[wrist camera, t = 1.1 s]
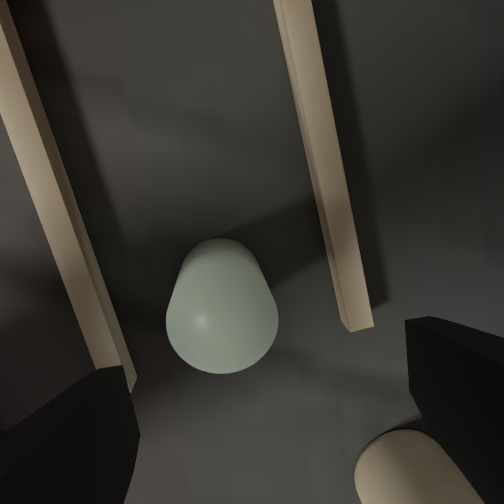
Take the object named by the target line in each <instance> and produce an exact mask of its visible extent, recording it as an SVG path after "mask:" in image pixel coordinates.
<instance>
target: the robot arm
mask: <svg viewBox="0 0 504 504" xmlns="http://www.w3.org/2000/svg"><path fill="white" fill-rule="evenodd" d="M405 331H406V346H407V361H408V376H409V392H410V393H411V395H412V397H413V399H414V401H415V403H416V405H417V407H418V409H419V411H420V412H421V414H422V416H423V418H424V420H425V421H426V423H427V425H428V427H429V428H430V429H431V431H432V432H433V434H434V435H435V436H436V438H437V439H438V441H439V442H440V443H441V445H442V446H443V448H444V449H445V450H446V452H447V453H448V454H449V456H450V457H451V458H452V460H453V461H454V463H455V464H456V465H457V467H458V468H459V469H460V471H461V472H462V473H463V475H464V476H465V478H466V479H467V480H468V482H469V483H470V484H471V486H472V487H473V488H474V490H475V491H476V492H477V494H478V495H479V497H480V498H481V499H482V501H483V502H484V503H485V504H504V338H502V337H499V336H496V335H493V334H489V333H486V332H483V331H480V330H477V329H474V328H471V327H467V326H464V325H461V324H458V323H455V322H451V321H448V320H444V319H440V318H436V317H430V316H427V317H421V318H414V319H408V320H405ZM139 439H140V431H139V427H138V423H137V419H136V415H135V411H134V407H133V403H132V399H131V395H130V391H129V387H128V383H127V379H126V375H125V371H124V367H123V365H118V366H111V367H105V368H99V369H97V370H95V371H93V372H91V373H90V374H88V375H87V376H85V377H83V378H82V379H81V380H79V381H78V382H76V383H75V384H73V385H72V386H70V387H69V388H68V389H66V390H65V391H63V392H62V393H61V394H59V395H58V396H56V397H55V398H54V399H52V400H51V401H49V402H48V403H47V404H45V405H44V406H42V407H41V408H40V409H38V410H37V411H35V412H34V413H33V414H31V415H30V416H28V417H27V418H25V419H24V420H22V421H21V422H19V423H18V424H16V425H15V426H13V427H12V428H10V429H9V430H7V431H6V432H4V433H3V434H1V435H0V504H124V500H125V497H126V494H127V491H128V488H129V485H130V482H131V479H132V475H133V472H134V467H135V462H136V457H137V451H138V445H139Z"/></svg>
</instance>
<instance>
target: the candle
mask: <svg viewBox="0 0 504 504" xmlns="http://www.w3.org/2000/svg"><path fill="white" fill-rule="evenodd" d="M354 480H355V485H356V489H357V492H358V495H359V497H360V499H361V502H362V504H485V503H484V502H483V501H482V499H481V498H480V497H479V495H478V494H477V492H476V491H475V490H474V488H473V487H472V486H471V484H470V483H469V482H468V480H467V479H466V478H465V476H464V475H463V473H462V472H461V471H460V470H459V468H458V467H457V466H456V465H455V463H454V462H453V461H452V460H451V458H450V457H449V456H448V455H447V454H446V452H445V451H444V450H443V449H442V448H441V446H440V445H439V444H438V443H437V442H436V441H435V440H433V439H432V438H431V437H430V436H428V435H426V434H424V433H422V432H419V431H416V430H409V429H403V430H395V431H391V432H388V433H386V434H383V435H381V436H380V437H378V438H376V439H375V440H373V441H372V442H371V443H370V444H369V445H368V446H367V447H366V448H365V449H364V450H363V452H362V453H361V455H360V456H359V458H358V460H357V463H356V466H355V472H354Z"/></svg>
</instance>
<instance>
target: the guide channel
mask: <svg viewBox="0 0 504 504" xmlns="http://www.w3.org/2000/svg"><path fill="white" fill-rule="evenodd" d="M273 2H274V7H275V11H276V16H277V21H278V26H279V30H280V35H281V40H282V44H283V49H284V54H285V59H286V63H287V68H288V73H289V77H290V82H291V87H292V92H293V96H294V101H295V106H296V110H297V115H298V120H299V124H300V129H301V134H302V139H303V143H304V148H305V153H306V157H307V162H308V167H309V172H310V176H311V181H312V186H313V190H314V195H315V200H316V205H317V209H318V214H319V219H320V223H321V228H322V233H323V238H324V242H325V247H326V252H327V256H328V261H329V266H330V270H331V275H332V280H333V285H334V289H335V294H336V299H337V303H338V308H339V313H340V318H341V321H342V323H343V324H344V325H345V326H346V328H347V329H348V330H349V331H350V333H351V332H355V331H358V330H362V329H366V328H369V327H373V326H374V324H373V319H372V314H371V308H370V303H369V298H368V293H367V288H366V282H365V277H364V272H363V267H362V262H361V257H360V251H359V246H358V241H357V236H356V231H355V225H354V220H353V215H352V210H351V205H350V200H349V194H348V189H347V184H346V179H345V174H344V168H343V163H342V158H341V153H340V148H339V143H338V137H337V132H336V127H335V122H334V117H333V111H332V106H331V101H330V96H329V91H328V86H327V80H326V75H325V70H324V65H323V60H322V54H321V49H320V44H319V39H318V34H317V29H316V23H315V18H314V13H313V8H312V3H311V0H273ZM0 113H1V116H2V119H3V121H4V124H5V127H6V129H7V132H8V135H9V137H10V140H11V143H12V145H13V148H14V151H15V154H16V156H17V159H18V162H19V164H20V167H21V170H22V172H23V175H24V178H25V180H26V183H27V186H28V188H29V191H30V194H31V196H32V199H33V202H34V204H35V207H36V210H37V213H38V215H39V218H40V221H41V223H42V226H43V229H44V231H45V234H46V237H47V239H48V242H49V245H50V247H51V250H52V253H53V255H54V258H55V261H56V263H57V266H58V269H59V272H60V274H61V277H62V280H63V282H64V285H65V288H66V290H67V293H68V296H69V298H70V301H71V304H72V306H73V309H74V312H75V314H76V317H77V320H78V322H79V325H80V328H81V331H82V333H83V336H84V339H85V341H86V344H87V347H88V349H89V352H90V355H91V357H92V360H93V363H94V365H95V368H96V370H97V369H99V368H105V367H111V366H118V365H123V367H124V371H125V375H126V379H127V383H128V387H129V391H130V393H132V390H133V387H134V385H135V382H136V379H137V374H136V372H135V369H134V366H133V363H132V360H131V357H130V354H129V351H128V349H127V346H126V343H125V340H124V337H123V334H122V331H121V329H120V326H119V323H118V320H117V317H116V314H115V311H114V308H113V306H112V303H111V300H110V297H109V294H108V291H107V288H106V285H105V283H104V280H103V277H102V274H101V271H100V268H99V265H98V263H97V260H96V257H95V254H94V251H93V248H92V245H91V242H90V240H89V237H88V234H87V231H86V228H85V225H84V222H83V219H82V217H81V214H80V211H79V208H78V205H77V202H76V199H75V197H74V194H73V191H72V188H71V185H70V182H69V179H68V176H67V174H66V171H65V168H64V165H63V162H62V159H61V156H60V153H59V151H58V148H57V145H56V142H55V139H54V136H53V133H52V131H51V128H50V125H49V122H48V119H47V116H46V113H45V110H44V108H43V105H42V102H41V99H40V96H39V93H38V90H37V87H36V85H35V82H34V79H33V76H32V73H31V70H30V67H29V65H28V62H27V59H26V56H25V53H24V50H23V47H22V44H21V42H20V39H19V36H18V33H17V30H16V27H15V24H14V21H13V19H12V16H11V13H10V10H9V7H8V4H7V1H6V0H0Z"/></svg>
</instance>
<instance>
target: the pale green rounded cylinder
mask: <svg viewBox="0 0 504 504" xmlns="http://www.w3.org/2000/svg"><path fill="white" fill-rule="evenodd" d="M166 329H167V334H168V338H169V340H170V343H171V345H172V346H173V348H174V350H175V351H176V352H177V354H178V355H179V356H180V357H181V358H182V359H183V360H184V361H185V362H187V363H188V364H189V365H191V366H193V367H195V368H197V369H199V370H202V371H205V372H209V373H216V374H225V373H233V372H237V371H240V370H243V369H245V368H247V367H249V366H251V365H253V364H254V363H256V362H257V361H258V360H259V359H261V358H262V357H263V356H264V355H265V354H266V352H267V351H268V350H269V348H270V347H271V345H272V343H273V341H274V339H275V336H276V333H277V329H278V311H277V307H276V303H275V301H274V298H273V296H272V294H271V292H270V289H269V287H268V285H267V283H266V280H265V278H264V276H263V274H262V271H261V269H260V267H259V265H258V263H257V260H256V258H255V257H254V255H253V254H252V252H251V251H250V250H249V249H248V248H247V247H245V246H244V245H243V244H241V243H239V242H237V241H235V240H232V239H227V238H213V239H209V240H206V241H203V242H201V243H199V244H198V245H196V246H195V247H194V248H193V249H191V251H190V252H189V253H188V254H187V256H186V257H185V259H184V261H183V263H182V266H181V269H180V272H179V275H178V278H177V282H176V285H175V288H174V291H173V294H172V297H171V300H170V303H169V306H168V309H167V315H166Z"/></svg>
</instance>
